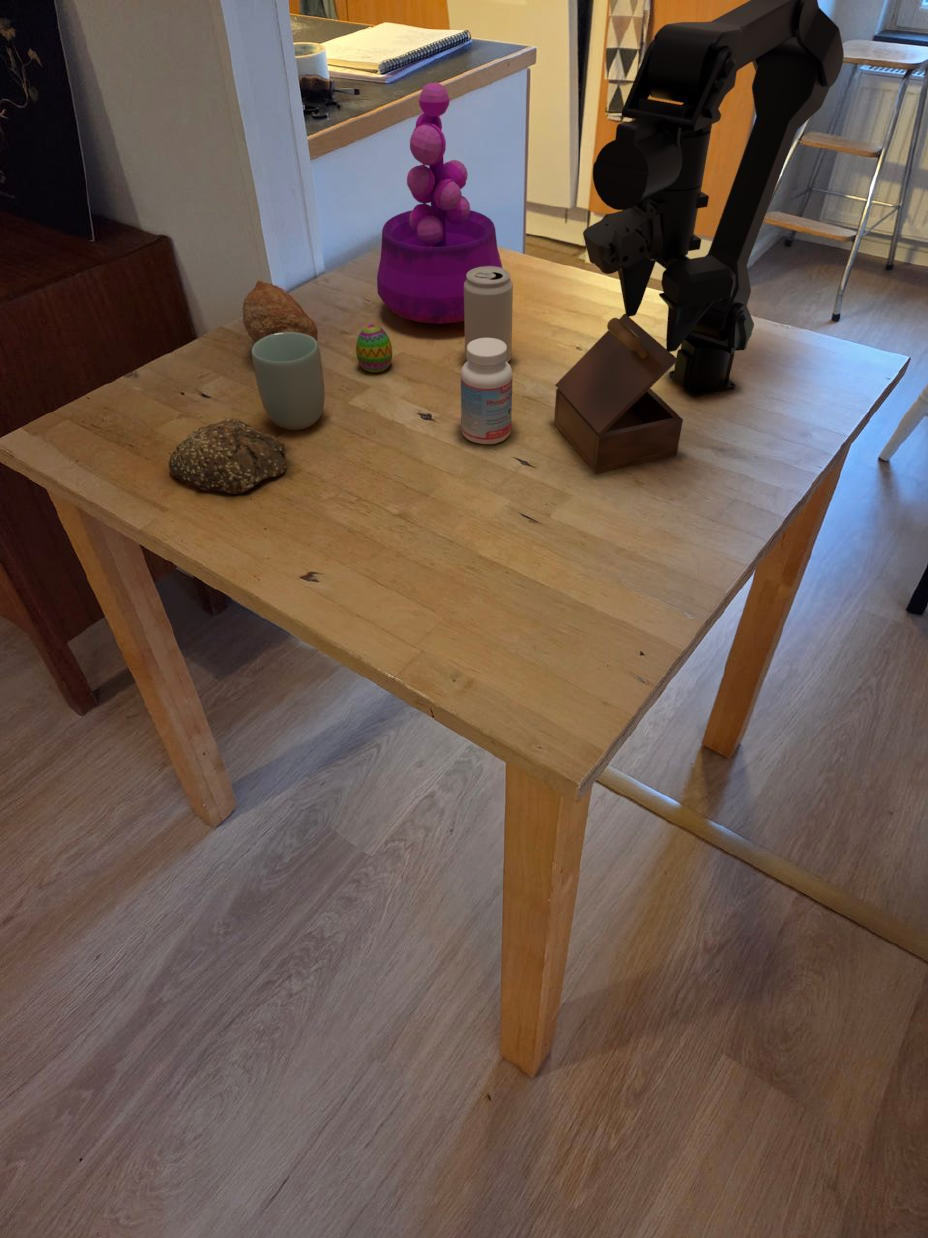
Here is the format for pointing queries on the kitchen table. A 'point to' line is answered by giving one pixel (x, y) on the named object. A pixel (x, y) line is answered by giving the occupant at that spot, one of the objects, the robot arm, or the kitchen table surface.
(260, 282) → the crusty roll
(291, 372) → the cup
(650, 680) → the kitchen table surface
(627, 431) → the chest
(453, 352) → the kitchen table surface
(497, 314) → the beverage can
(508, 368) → the pill bottle
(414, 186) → the decorative plant
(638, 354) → the lid
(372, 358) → the egg
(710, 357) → the robot arm
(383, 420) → the kitchen table surface
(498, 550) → the kitchen table surface
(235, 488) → the bread roll
